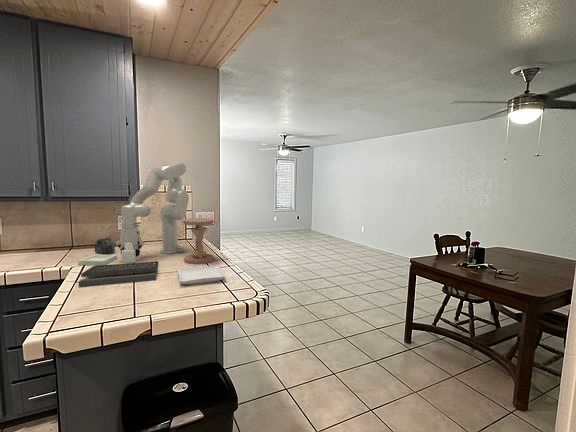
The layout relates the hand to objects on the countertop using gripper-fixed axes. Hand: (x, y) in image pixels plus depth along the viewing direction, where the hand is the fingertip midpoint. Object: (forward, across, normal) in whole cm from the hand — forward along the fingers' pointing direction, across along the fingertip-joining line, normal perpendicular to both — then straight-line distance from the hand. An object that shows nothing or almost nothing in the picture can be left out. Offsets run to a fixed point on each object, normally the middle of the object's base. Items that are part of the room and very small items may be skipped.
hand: (130, 255), depth 177 cm
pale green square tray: (+3, +17, +3) cm, 18 cm away
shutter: (+4, -8, +24) cm, 25 cm away
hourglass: (+4, -39, -5) cm, 39 cm away
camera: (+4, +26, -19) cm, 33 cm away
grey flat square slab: (+4, -49, +28) cm, 57 cm away
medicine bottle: (+4, 0, 0) cm, 4 cm away
